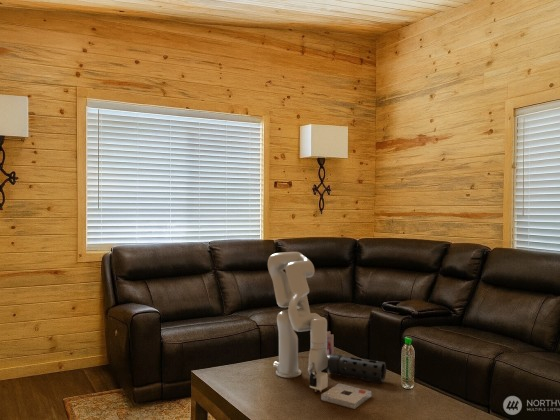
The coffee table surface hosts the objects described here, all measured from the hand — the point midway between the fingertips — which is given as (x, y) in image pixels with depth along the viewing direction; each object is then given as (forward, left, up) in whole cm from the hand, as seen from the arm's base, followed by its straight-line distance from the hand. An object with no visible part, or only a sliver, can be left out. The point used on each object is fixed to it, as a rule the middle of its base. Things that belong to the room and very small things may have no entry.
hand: (318, 382), depth 225 cm
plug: (0, 0, -4) cm, 4 cm away
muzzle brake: (+6, +24, -4) cm, 25 cm away
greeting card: (-20, +38, -4) cm, 43 cm away
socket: (+14, 0, -4) cm, 14 cm away
